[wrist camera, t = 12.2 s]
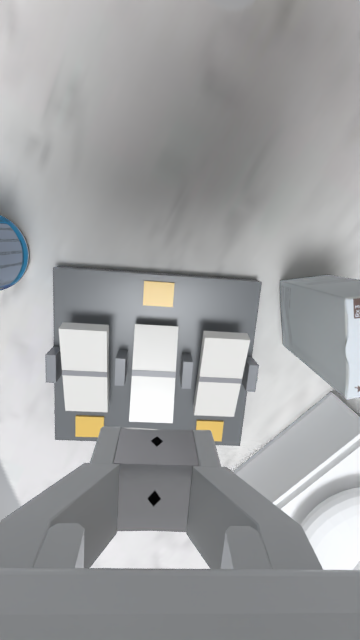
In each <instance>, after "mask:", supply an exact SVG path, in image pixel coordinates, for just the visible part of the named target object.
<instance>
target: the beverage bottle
mask: <svg viewBox="0 0 360 640" xmlns="http://www.w3.org/2000/svg"><path fill="white" fill-rule="evenodd" d="M28 260H29V252H28V246H27V243H26V240H25V238H24V236H23V234H22V233H21V231H20V230H19V229H18V228H17V226H16V225H14V224H13V223H12V222H11V221H10V220H8V219H7V218H5V217H3V216H1V215H0V290H3V289H6V288H9V287H11V286H12V285H14V284H15V283H17V282H18V281H19V280H20V279H21V277H22V276H23V275H24V273H25V271H26V269H27V265H28Z"/></svg>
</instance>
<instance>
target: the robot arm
mask: <svg viewBox="0 0 360 640" xmlns="http://www.w3.org/2000/svg"><path fill="white" fill-rule="evenodd" d="M117 531H173V532H187V535H188V537H189V538H190V540H191V541H192V543H193V544H194V545H195V547H196V548H197V550H198V551H199V553H200V554H201V556H202V557H203V559H204V560H205V561H206V563H207V564H208V566H209V567H210V569H118V568H90V567H91V565H92V564H93V563H94V562H95V560H96V559H97V558H98V557H99V555H100V554H101V553H102V551H103V550H104V549H105V548H106V546H107V545H108V544H109V542H110V541H111V540H112V539H113V537H114V536H115V535H116V533H117ZM0 640H360V570H323V568H322V566H321V564H320V562H319V560H318V558H317V556H316V554H315V552H314V550H313V548H312V546H311V544H310V542H309V540H308V538H307V536H306V534H305V532H304V530H303V528H302V526H301V525H300V524H299V523H297V522H296V521H295V520H293V519H292V518H291V517H290V516H288V515H287V514H286V513H285V512H283V511H282V510H281V509H279V508H278V507H277V506H276V505H274V504H273V503H272V502H270V501H269V500H268V499H267V498H265V497H264V496H263V495H262V494H260V493H259V492H258V491H256V490H255V489H254V488H253V487H251V486H250V485H249V484H247V483H246V482H245V481H244V480H242V479H241V478H240V477H239V476H237V475H236V474H235V473H233V472H232V471H231V470H230V469H228V468H227V467H221V464H220V460H219V457H218V453H217V449H216V446H215V442H214V439H213V435H212V432H211V431H210V430H157V429H146V428H129V427H109V426H103V427H102V428H101V429H100V433H99V436H98V439H97V442H96V445H95V448H94V452H93V455H92V458H91V461H90V463H84V464H82V465H81V466H79V467H78V468H76V469H75V470H73V471H72V472H71V473H69V474H68V475H66V476H65V477H63V478H62V479H60V480H59V481H57V482H56V483H55V484H53V485H52V486H50V487H49V488H47V489H46V490H44V491H43V492H42V493H40V494H39V495H37V496H36V497H34V498H33V499H31V500H30V501H28V502H27V503H26V504H24V505H23V506H21V507H20V508H18V509H17V510H15V511H14V512H12V513H11V514H10V515H8V516H7V517H6V518H4V519H2V520H1V522H0Z"/></svg>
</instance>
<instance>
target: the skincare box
mask: <svg viewBox="0 0 360 640" xmlns="http://www.w3.org/2000/svg"><path fill="white" fill-rule="evenodd" d="M280 295H281V315H282V329H283V345H284V346H285V347H286V348H287V349H288V350H289V351H291V352H292V353H293V354H294V355H295V356H296V357H298V358H299V359H300V360H301V361H302V362H304V363H305V364H306V365H307V366H308V367H309V368H311V369H312V370H313V371H314V372H315V373H316V374H318V375H319V376H320V377H321V378H322V379H323V380H325V381H326V382H327V383H328V384H329V385H330V386H332V387H333V388H334V389H335V390H336V391H337V392H339V393H340V394H341V395H342V396H343V397H344V398H345V399H346V400H348V399H354V398H360V280H357V279H351V278H345V277H338V276H333V275H322V276H314V277H306V278H298V279H290V280H282V281H280Z"/></svg>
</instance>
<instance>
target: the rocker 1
mask: <svg viewBox="0 0 360 640" xmlns="http://www.w3.org/2000/svg"><path fill="white" fill-rule="evenodd" d="M59 340H60V352H61V364H62V377H63V389H64V401H65V411H85V412H108V408H109V325H103V324H86V323H69V322H62V324H61V326H60V327H59Z"/></svg>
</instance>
